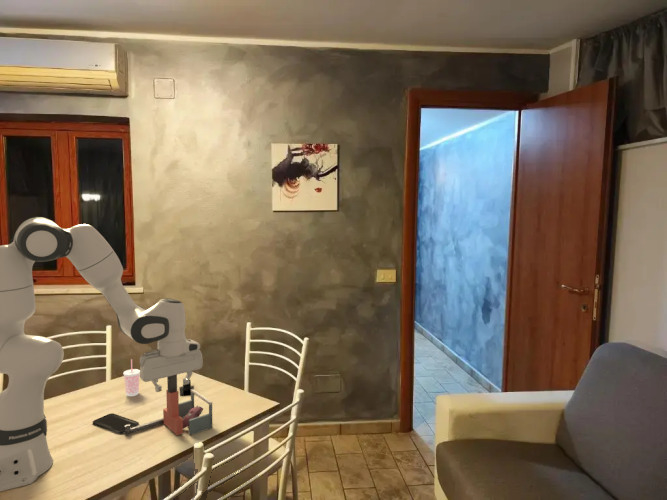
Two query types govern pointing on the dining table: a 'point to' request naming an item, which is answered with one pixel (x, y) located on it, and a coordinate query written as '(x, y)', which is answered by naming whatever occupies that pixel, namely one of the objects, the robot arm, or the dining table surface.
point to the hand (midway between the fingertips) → (172, 387)
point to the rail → (142, 426)
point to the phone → (114, 423)
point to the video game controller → (192, 415)
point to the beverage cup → (132, 381)
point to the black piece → (186, 389)
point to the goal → (198, 422)
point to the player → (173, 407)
